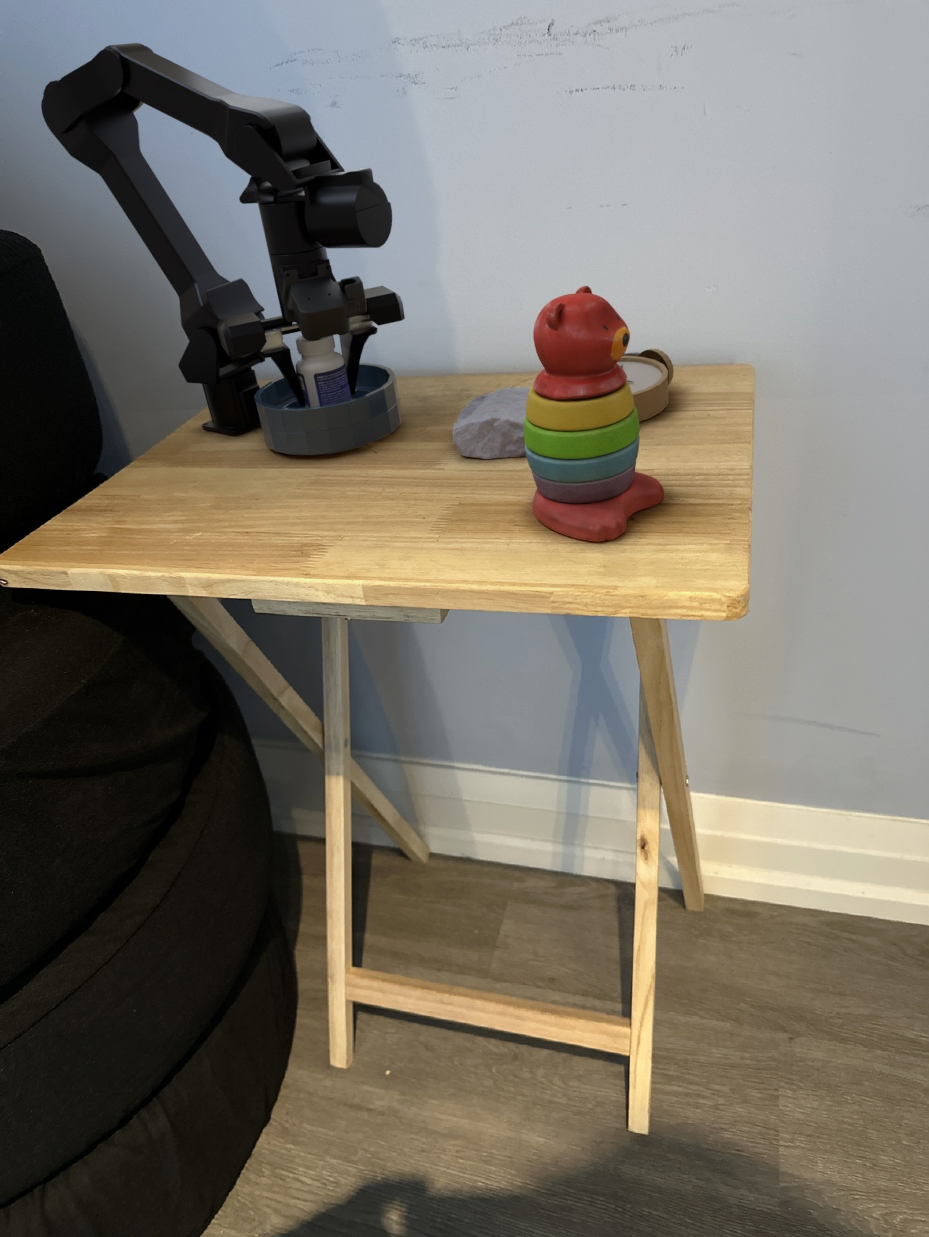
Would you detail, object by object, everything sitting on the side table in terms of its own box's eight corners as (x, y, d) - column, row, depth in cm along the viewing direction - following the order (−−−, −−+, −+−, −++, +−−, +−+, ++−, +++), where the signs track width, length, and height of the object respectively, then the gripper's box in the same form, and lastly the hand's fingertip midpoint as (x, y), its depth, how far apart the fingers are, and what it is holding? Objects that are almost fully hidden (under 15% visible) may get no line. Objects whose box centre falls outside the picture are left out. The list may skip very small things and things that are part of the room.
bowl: (238, 448, 102) (225, 400, 99) (334, 403, 112) (325, 358, 109) (334, 469, 93) (323, 417, 91) (430, 418, 103) (423, 369, 100)
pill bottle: (362, 409, 103) (347, 328, 98) (342, 426, 99) (325, 343, 94) (320, 409, 105) (303, 330, 100) (298, 426, 101) (280, 344, 96)
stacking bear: (609, 547, 72) (599, 316, 63) (504, 524, 78) (481, 309, 69) (673, 493, 79) (672, 278, 70) (572, 475, 85) (559, 274, 76)
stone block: (454, 477, 92) (551, 454, 89) (439, 431, 90) (537, 407, 87) (478, 436, 102) (565, 415, 99) (464, 395, 100) (553, 372, 97)
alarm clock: (544, 399, 95) (586, 331, 105) (550, 440, 98) (590, 371, 108) (652, 401, 91) (685, 331, 100) (655, 445, 94) (687, 372, 104)
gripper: (216, 279, 84) (256, 442, 92) (410, 242, 88) (432, 400, 97) (199, 262, 93) (237, 412, 101) (376, 229, 97) (398, 374, 106)
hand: (327, 400), depth 101 cm, fingers closed on pill bottle, 5 cm apart
